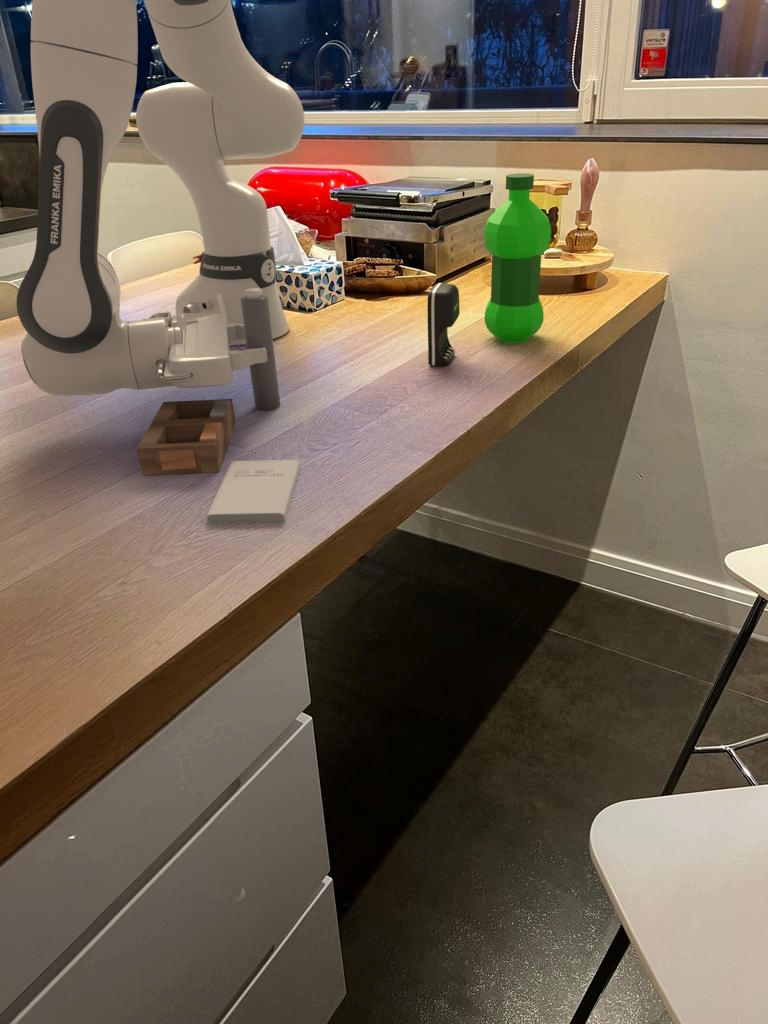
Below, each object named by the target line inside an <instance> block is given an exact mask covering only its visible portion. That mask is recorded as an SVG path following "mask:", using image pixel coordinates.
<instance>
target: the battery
mask: <svg viewBox="0 0 768 1024" xmlns="http://www.w3.org/2000/svg"><path fill="white" fill-rule="evenodd" d="M460 310H461V309H460V292H459V288H458V287H457V286H456V285H455V284H454V283H453V284H452V283H442V282H438V283H436V284H434V285H433V286H432V287H431V289H430V290H429V291H428V293H427V347H428V350H427V353H428V354H427V355H428V356H427V357H428V358H427V360H428V361H427V362H428V365H429V366H432V367H433V366H434V367H435V366H448V365H450V363H451V362H452V360H453V358H454V356H455V354H456V350H455V349H454V348H453V346H452V345H451V343H450V340H449V337H448V333H449V332H448V328H451V327H453V325H455V323H456V321H457V319H459V316H460Z"/></svg>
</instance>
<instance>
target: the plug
mask: <svg viewBox="0 0 768 1024" xmlns="http://www.w3.org/2000/svg"><path fill="white" fill-rule="evenodd" d="M241 306H242V314H243V321H244V329H245V336H246V343H247V344H246V350H248V349H252V347H255V346H264V347H265V348H266V351H267V359H268V360H267V362H265V363H256V364H253V365H250V366H249V371H250V379H251V380H250V381H251V387H252V394H253V401H254V402H253V403H254V407H255V409H256V410H257V411H262V412H264V411H265V412H266V411H272V410H276V409H278V408H280V407H281V398H280V391H279V382H278V373H277V365H276V357H275V347H274V339H273V338H272V329H271V321H270V312H269V304H268V296H266V295H262V289H260V288H250V289H246V290H245V296H244V297H242V298H241Z"/></svg>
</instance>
